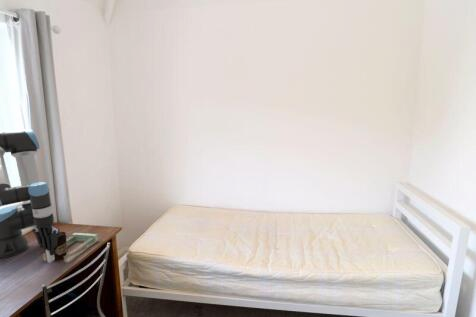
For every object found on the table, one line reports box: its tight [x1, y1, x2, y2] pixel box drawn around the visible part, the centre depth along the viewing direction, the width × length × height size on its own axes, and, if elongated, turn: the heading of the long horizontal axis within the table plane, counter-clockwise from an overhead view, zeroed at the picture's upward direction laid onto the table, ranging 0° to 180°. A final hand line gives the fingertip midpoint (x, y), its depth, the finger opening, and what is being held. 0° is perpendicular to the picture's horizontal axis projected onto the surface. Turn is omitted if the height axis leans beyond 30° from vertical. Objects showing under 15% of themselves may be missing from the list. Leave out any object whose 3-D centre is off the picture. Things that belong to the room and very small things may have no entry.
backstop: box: [71, 232, 99, 243], centre depth 155 cm, size 14×2×4 cm, turn 80°
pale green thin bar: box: [41, 235, 77, 262], centre depth 145 cm, size 2×20×3 cm, turn 170°
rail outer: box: [63, 237, 96, 263], centre depth 143 cm, size 2×20×3 cm, turn 170°
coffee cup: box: [52, 231, 68, 262], centre depth 136 cm, size 9×8×13 cm
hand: (51, 260), depth 132 cm, fingers closed
